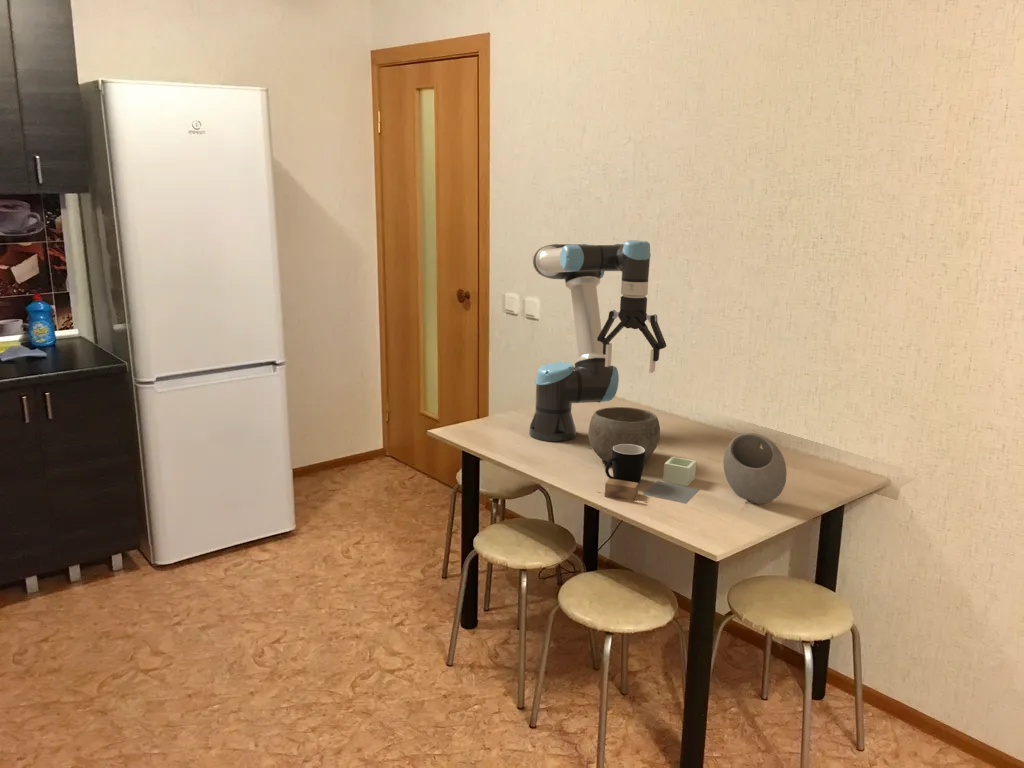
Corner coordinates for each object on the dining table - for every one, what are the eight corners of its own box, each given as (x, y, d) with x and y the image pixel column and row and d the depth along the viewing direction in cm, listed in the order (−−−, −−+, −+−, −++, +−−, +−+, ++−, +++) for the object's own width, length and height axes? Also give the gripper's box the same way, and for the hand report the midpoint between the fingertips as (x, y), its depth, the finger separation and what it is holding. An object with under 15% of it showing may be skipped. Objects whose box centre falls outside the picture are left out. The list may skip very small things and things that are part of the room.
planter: (713, 494, 230) (719, 428, 225) (728, 488, 234) (735, 423, 230) (774, 515, 216) (781, 446, 212) (789, 509, 221) (797, 440, 216)
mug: (629, 475, 242) (631, 442, 239) (649, 486, 234) (652, 451, 232) (595, 482, 236) (597, 448, 233) (614, 493, 228) (617, 457, 226)
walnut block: (604, 497, 226) (605, 483, 225) (608, 492, 230) (609, 478, 229) (634, 502, 223) (635, 487, 222) (637, 496, 227) (638, 482, 226)
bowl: (616, 445, 268) (619, 399, 264) (671, 462, 254) (675, 414, 250) (573, 460, 254) (575, 411, 250) (628, 479, 240) (631, 428, 236)
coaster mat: (642, 497, 226) (642, 494, 226) (657, 483, 237) (657, 480, 236) (685, 506, 221) (686, 503, 221) (699, 491, 231) (699, 489, 231)
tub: (662, 483, 236) (664, 463, 235) (670, 476, 242) (672, 456, 241) (687, 488, 233) (688, 468, 232) (694, 481, 239) (696, 460, 238)
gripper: (588, 293, 244) (585, 365, 249) (672, 301, 232) (666, 377, 237) (598, 290, 250) (595, 361, 255) (680, 298, 238) (675, 372, 244)
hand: (629, 369), depth 246 cm, fingers open, 13 cm apart
